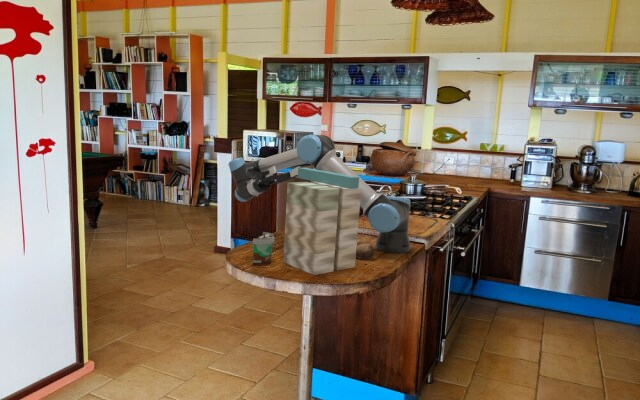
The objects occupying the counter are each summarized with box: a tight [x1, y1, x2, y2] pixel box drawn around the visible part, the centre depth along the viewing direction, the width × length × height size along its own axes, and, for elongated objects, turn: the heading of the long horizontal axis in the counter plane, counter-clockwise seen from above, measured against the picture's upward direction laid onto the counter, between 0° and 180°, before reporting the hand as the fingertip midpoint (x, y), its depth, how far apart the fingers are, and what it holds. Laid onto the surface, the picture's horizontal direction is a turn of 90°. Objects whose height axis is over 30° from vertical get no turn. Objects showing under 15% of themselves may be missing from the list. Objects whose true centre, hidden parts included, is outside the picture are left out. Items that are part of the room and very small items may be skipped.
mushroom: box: [356, 242, 375, 261], centre depth 202 cm, size 8×8×6 cm
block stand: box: [282, 181, 361, 276], centre depth 186 cm, size 18×20×30 cm
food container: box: [252, 231, 276, 266], centre depth 186 cm, size 12×6×10 cm, turn 168°
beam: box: [297, 167, 360, 189], centre depth 191 cm, size 30×4×4 cm, turn 41°
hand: (287, 169), depth 209 cm, fingers open, 13 cm apart
